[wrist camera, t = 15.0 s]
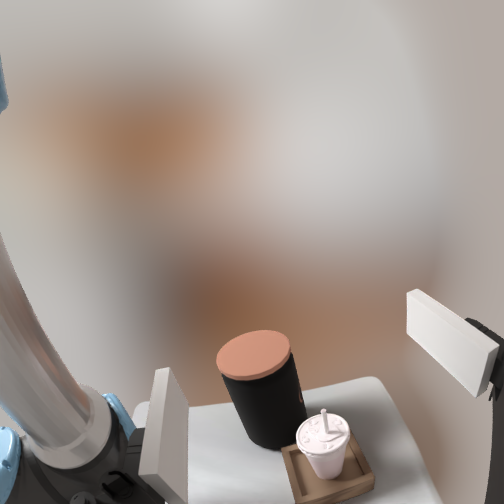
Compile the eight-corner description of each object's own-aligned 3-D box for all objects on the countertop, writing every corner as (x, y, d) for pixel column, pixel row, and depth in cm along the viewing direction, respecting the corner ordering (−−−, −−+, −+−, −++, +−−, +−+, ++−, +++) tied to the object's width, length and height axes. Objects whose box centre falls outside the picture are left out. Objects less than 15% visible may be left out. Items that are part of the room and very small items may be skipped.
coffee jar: (321, 429, 43) (305, 349, 38) (266, 462, 39) (233, 387, 34) (288, 398, 53) (266, 321, 48) (238, 425, 49) (205, 350, 44)
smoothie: (343, 490, 28) (338, 436, 24) (298, 483, 32) (279, 427, 28) (357, 454, 34) (354, 391, 30) (315, 449, 37) (301, 387, 33)
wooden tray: (300, 514, 29) (295, 504, 27) (285, 461, 39) (280, 448, 37) (373, 489, 29) (374, 477, 28) (349, 440, 39) (348, 426, 38)
